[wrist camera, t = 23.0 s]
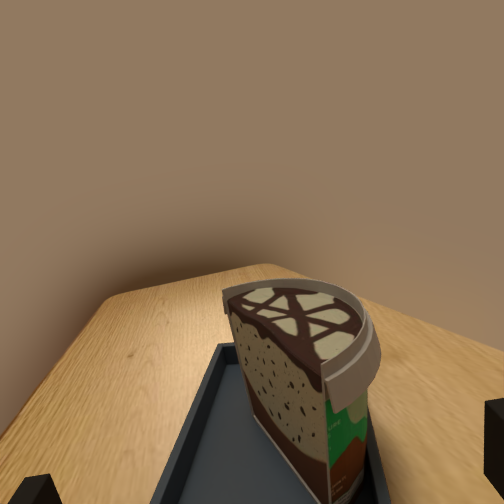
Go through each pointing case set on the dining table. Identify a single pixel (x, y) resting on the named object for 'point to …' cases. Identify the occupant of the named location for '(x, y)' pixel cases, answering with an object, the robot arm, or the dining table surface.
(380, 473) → the tray
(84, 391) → the dining table surface
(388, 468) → the dining table surface
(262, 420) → the food container
